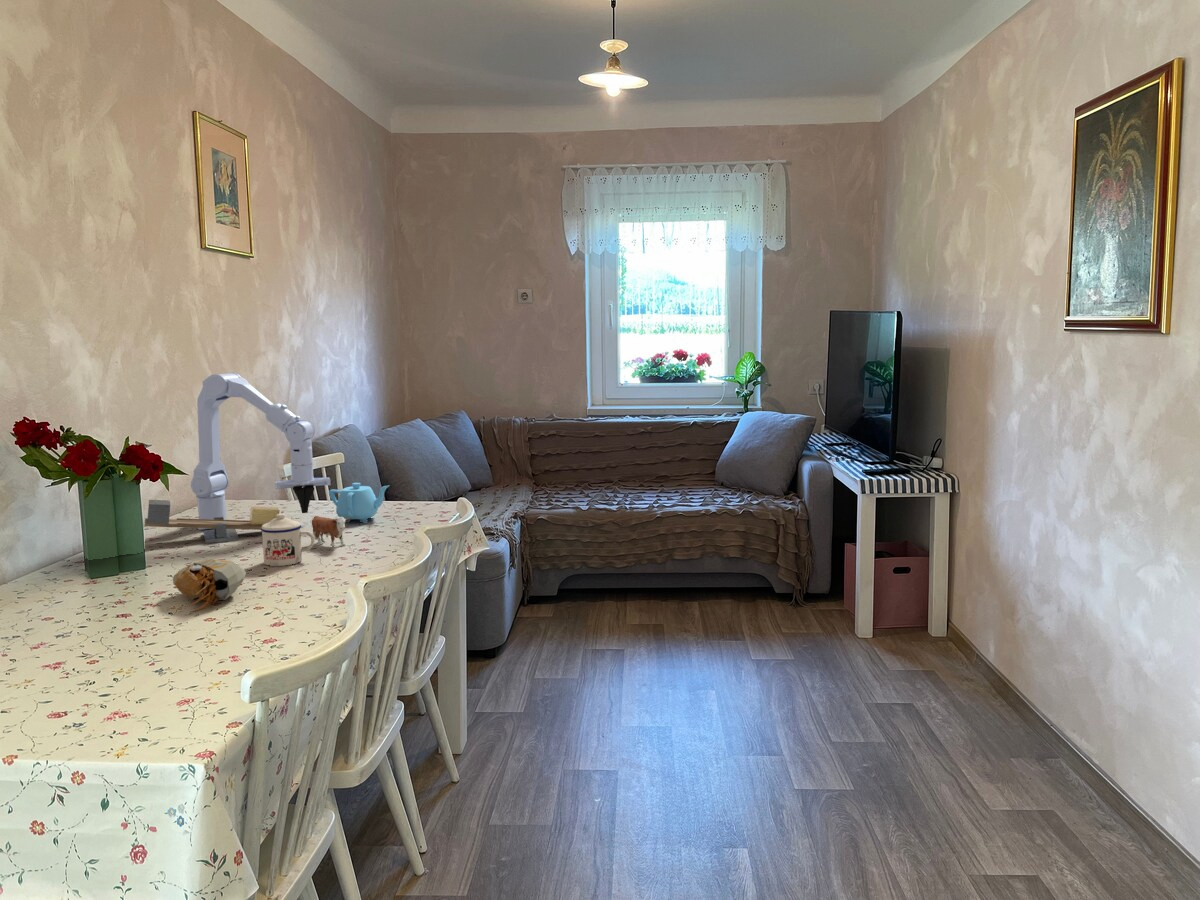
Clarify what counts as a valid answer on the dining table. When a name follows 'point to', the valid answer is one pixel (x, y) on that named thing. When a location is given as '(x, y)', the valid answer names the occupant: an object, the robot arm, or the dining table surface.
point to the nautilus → (209, 580)
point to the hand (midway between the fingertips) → (304, 512)
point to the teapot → (357, 502)
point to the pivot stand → (220, 533)
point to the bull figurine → (328, 528)
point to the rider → (262, 515)
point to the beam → (161, 513)
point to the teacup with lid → (283, 541)
